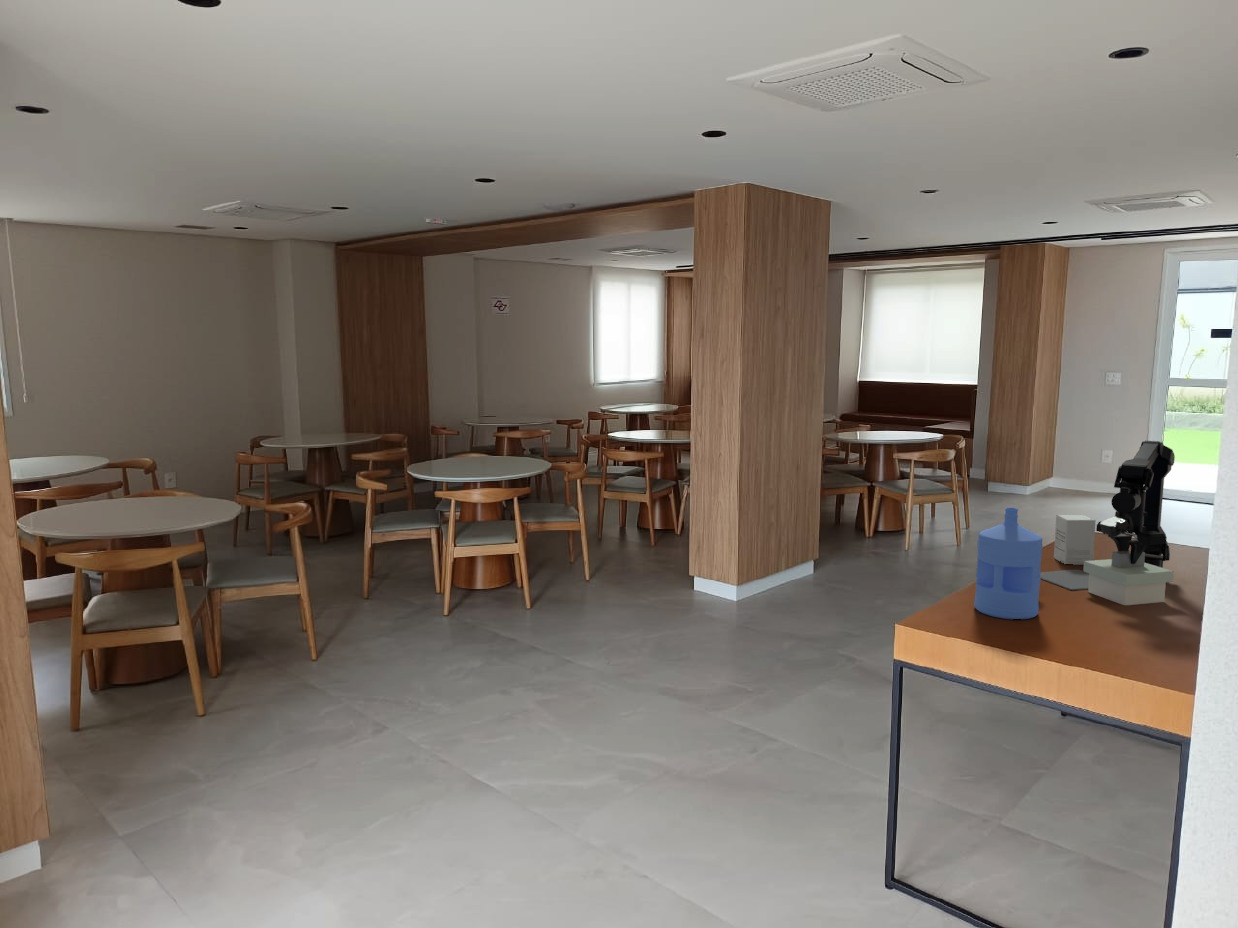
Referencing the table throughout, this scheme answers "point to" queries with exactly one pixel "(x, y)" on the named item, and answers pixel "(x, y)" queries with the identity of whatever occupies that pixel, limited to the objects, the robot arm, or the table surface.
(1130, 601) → the storage box
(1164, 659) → the table surface
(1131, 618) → the table surface
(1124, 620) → the table surface
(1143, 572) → the lid
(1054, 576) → the mat
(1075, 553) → the supplement box
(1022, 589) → the water jug
